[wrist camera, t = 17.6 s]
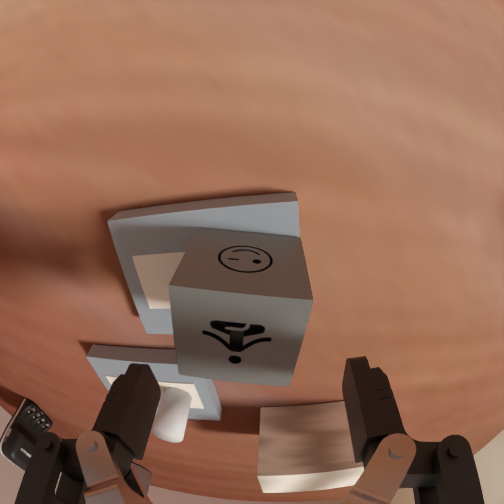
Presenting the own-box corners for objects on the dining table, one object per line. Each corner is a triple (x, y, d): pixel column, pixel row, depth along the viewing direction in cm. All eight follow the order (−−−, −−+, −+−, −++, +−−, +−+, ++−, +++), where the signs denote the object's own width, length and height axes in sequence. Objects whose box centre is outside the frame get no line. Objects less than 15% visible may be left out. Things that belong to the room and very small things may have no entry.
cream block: (265, 435, 27) (263, 492, 21) (260, 407, 24) (257, 475, 18) (350, 428, 26) (358, 484, 20) (359, 398, 23) (372, 464, 17)
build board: (153, 319, 20) (146, 334, 18) (118, 211, 16) (106, 221, 14) (299, 314, 19) (301, 331, 17) (295, 192, 15) (298, 201, 13)
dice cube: (300, 237, 14) (313, 300, 10) (285, 316, 17) (289, 386, 12) (198, 227, 14) (168, 285, 10) (198, 307, 17) (178, 374, 12)
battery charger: (59, 426, 33) (36, 479, 23) (44, 420, 34) (21, 470, 24) (36, 400, 30) (7, 457, 20) (21, 395, 31) (-7, 448, 20)
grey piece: (127, 399, 25) (110, 442, 20) (92, 344, 22) (66, 392, 17) (222, 407, 24) (214, 458, 19) (202, 349, 21) (188, 411, 16)
